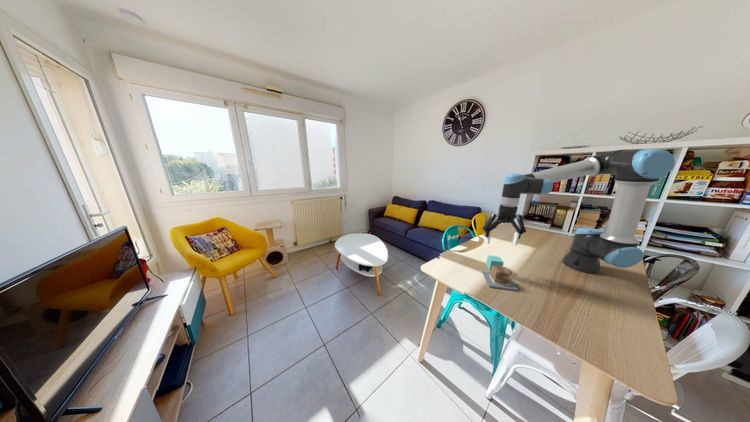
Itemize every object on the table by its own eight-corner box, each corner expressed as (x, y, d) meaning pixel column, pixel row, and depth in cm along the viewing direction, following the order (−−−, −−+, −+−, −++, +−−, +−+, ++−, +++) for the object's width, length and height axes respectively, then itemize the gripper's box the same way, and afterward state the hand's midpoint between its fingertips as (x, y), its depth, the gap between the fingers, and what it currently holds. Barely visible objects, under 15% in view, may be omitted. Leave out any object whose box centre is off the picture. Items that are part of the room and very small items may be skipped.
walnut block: (502, 276, 98) (505, 266, 97) (507, 284, 93) (510, 273, 91) (489, 275, 100) (492, 265, 98) (494, 282, 94) (496, 271, 92)
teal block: (497, 265, 110) (499, 256, 109) (501, 271, 105) (503, 262, 103) (486, 264, 112) (487, 255, 110) (489, 270, 106) (491, 260, 104)
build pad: (506, 276, 101) (507, 274, 100) (517, 291, 90) (518, 289, 89) (482, 272, 103) (482, 271, 103) (489, 287, 92) (490, 285, 92)
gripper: (530, 204, 98) (521, 241, 104) (479, 202, 100) (473, 239, 106) (541, 207, 90) (530, 248, 96) (485, 206, 93) (479, 245, 99)
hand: (500, 243), depth 101 cm, fingers open, 13 cm apart
